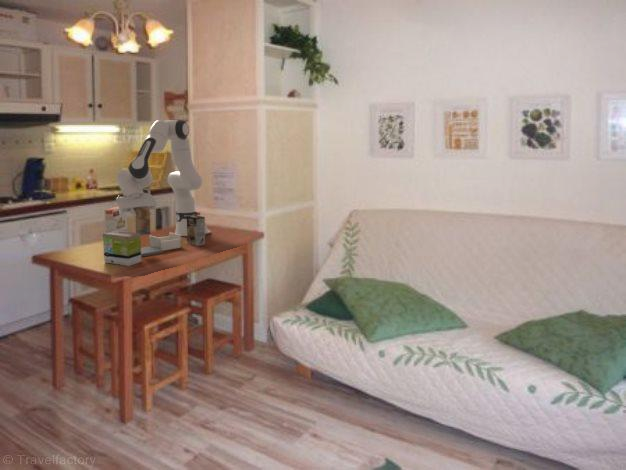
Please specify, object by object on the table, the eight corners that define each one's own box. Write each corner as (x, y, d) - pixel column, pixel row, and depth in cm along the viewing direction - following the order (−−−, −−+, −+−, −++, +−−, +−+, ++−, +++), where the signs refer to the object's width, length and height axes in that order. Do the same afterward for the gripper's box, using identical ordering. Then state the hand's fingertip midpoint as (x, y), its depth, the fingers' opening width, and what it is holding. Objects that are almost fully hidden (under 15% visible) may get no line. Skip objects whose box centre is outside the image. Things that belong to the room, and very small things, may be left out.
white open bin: (170, 244, 315) (170, 232, 314) (181, 247, 307) (181, 235, 306) (149, 247, 306) (149, 235, 304) (160, 251, 298) (159, 238, 297)
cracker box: (115, 247, 306) (113, 209, 302) (105, 246, 307) (103, 209, 303) (128, 242, 319) (126, 206, 316) (119, 241, 321) (117, 206, 317)
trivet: (149, 248, 303) (149, 246, 303) (163, 253, 293) (163, 250, 293) (125, 252, 293) (125, 249, 293) (138, 257, 283) (138, 254, 283)
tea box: (103, 263, 270) (101, 233, 267) (117, 258, 280) (116, 230, 277) (128, 266, 265) (127, 236, 262) (142, 261, 274) (140, 232, 271)
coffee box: (187, 243, 318) (186, 215, 315) (196, 242, 322) (195, 214, 319) (196, 246, 312) (195, 217, 308) (205, 244, 316) (205, 216, 313)
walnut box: (146, 232, 295) (145, 206, 292) (150, 233, 292) (149, 207, 289) (136, 234, 290) (135, 207, 288) (139, 235, 288) (138, 208, 285)
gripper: (116, 192, 285) (126, 213, 280) (152, 190, 299) (162, 210, 294) (112, 200, 288) (122, 221, 284) (148, 197, 303) (158, 217, 298)
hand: (143, 215), depth 289 cm, fingers closed on walnut box, 6 cm apart
